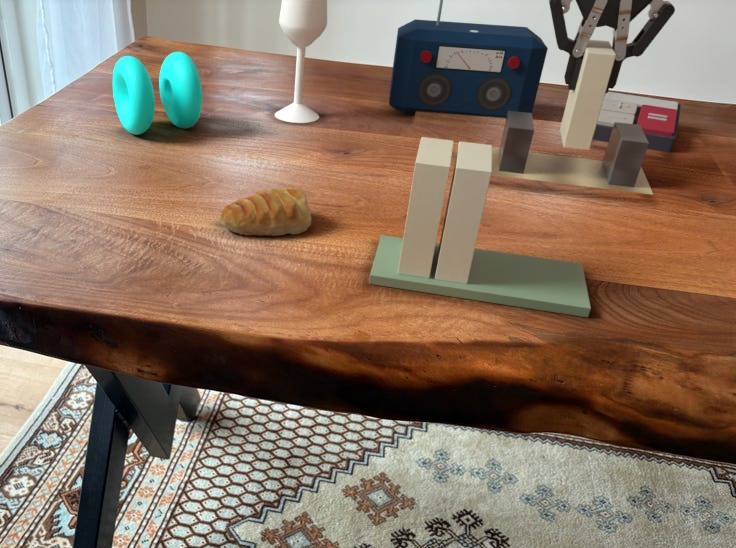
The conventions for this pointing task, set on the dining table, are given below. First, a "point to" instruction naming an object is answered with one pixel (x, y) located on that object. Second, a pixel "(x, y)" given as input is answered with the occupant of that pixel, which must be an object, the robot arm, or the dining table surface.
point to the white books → (468, 242)
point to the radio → (465, 68)
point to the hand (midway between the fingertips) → (587, 89)
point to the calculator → (640, 118)
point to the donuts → (175, 92)
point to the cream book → (587, 96)
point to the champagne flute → (301, 48)
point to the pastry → (268, 213)
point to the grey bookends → (573, 158)
